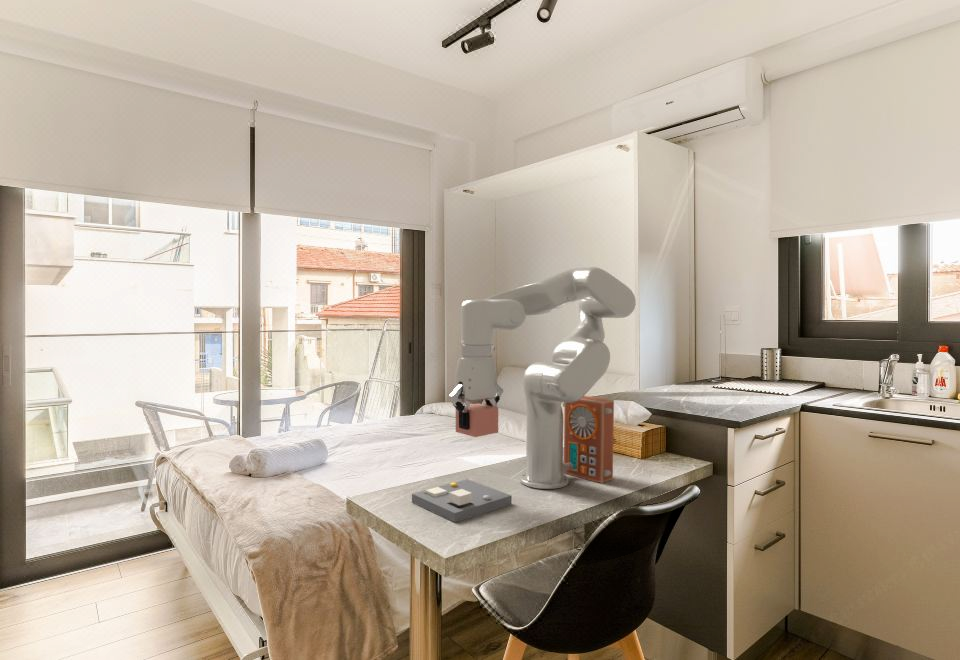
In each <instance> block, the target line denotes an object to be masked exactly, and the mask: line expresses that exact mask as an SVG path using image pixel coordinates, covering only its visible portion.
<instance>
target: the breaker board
mask: <svg viewBox="0 0 960 660" xmlns="http://www.w3.org/2000/svg"><path fill="white" fill-rule="evenodd" d="M438 487H439V488H442V489H444V490H446V491H447V495H443V496H439V497H436V498H433V497H431V496H429V495H427V494H426V490H427V489H425V490H424V489H423V490H421V491H417V492H413V493H411V503H413V504H415V505H417V506H419V507H422V508H423V509H425V510H428V511H430V512H433V513H434V514H435V515H438V516H440V517H442V518H445V519H447V520H449V521H451V522H453V523H457V522H461V521H463V520H467V519H469V518H473V517H475V516H479V515H482V514H485V513H488V512H491V511H495V510H497V509H500V508H503V507H504V508H505V507H507V506H510V505H512V501H513V500H512V497H513V496H512V494H509V493H506V492H503V491H500V490H498V489H496V488H493V487H490V486H487V485H485V484H482V483H479V482H476V481H473V480H472V479H468V478H466V479H462V480H458V481H456V482H450V483H448V484H444V485H440V486H438ZM460 489H463V490H466V491H468V492H471V493H472V502H470V503H467V504H463V505H460V506H459V505H457V504H455V503H452V502H450V501H449V492H452V491H456V490H460Z"/></svg>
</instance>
